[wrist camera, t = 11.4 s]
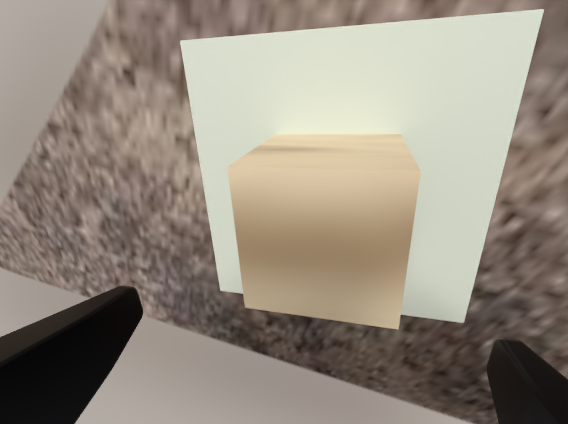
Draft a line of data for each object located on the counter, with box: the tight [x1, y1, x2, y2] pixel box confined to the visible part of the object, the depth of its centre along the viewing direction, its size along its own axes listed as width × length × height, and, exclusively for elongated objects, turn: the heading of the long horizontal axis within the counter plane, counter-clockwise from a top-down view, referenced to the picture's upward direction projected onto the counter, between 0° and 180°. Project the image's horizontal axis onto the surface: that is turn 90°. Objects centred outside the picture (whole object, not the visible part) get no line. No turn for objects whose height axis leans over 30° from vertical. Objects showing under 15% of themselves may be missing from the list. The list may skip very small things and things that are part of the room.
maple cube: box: [227, 134, 421, 330], centre depth 13 cm, size 6×6×6 cm
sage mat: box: [180, 9, 544, 323], centre depth 16 cm, size 15×15×1 cm
